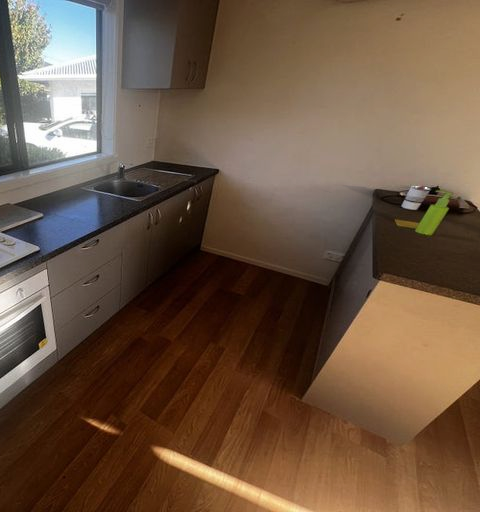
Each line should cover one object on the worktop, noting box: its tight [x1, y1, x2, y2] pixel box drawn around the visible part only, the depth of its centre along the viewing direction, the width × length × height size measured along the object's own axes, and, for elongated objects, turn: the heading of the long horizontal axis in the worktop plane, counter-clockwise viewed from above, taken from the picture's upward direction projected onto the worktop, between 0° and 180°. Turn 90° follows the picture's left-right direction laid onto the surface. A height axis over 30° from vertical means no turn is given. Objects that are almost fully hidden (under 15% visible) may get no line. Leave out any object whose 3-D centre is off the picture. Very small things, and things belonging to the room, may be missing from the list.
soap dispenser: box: [414, 189, 454, 236], centre depth 134 cm, size 6×7×20 cm
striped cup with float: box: [400, 185, 432, 211], centre depth 166 cm, size 10×8×12 cm
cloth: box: [394, 219, 420, 230], centre depth 147 cm, size 12×10×1 cm
